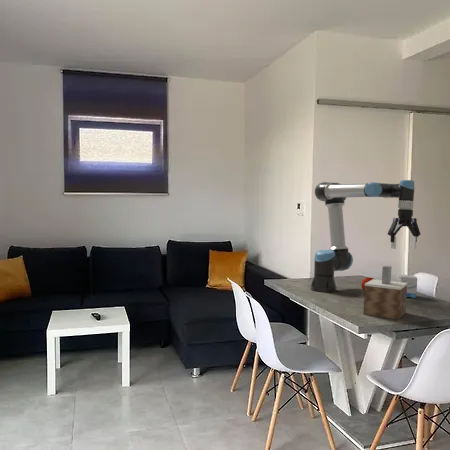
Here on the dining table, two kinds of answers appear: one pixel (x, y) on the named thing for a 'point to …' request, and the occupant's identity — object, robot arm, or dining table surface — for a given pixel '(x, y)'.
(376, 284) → the lid
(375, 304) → the crate
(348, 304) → the dining table surface
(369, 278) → the apple
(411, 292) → the ink box
